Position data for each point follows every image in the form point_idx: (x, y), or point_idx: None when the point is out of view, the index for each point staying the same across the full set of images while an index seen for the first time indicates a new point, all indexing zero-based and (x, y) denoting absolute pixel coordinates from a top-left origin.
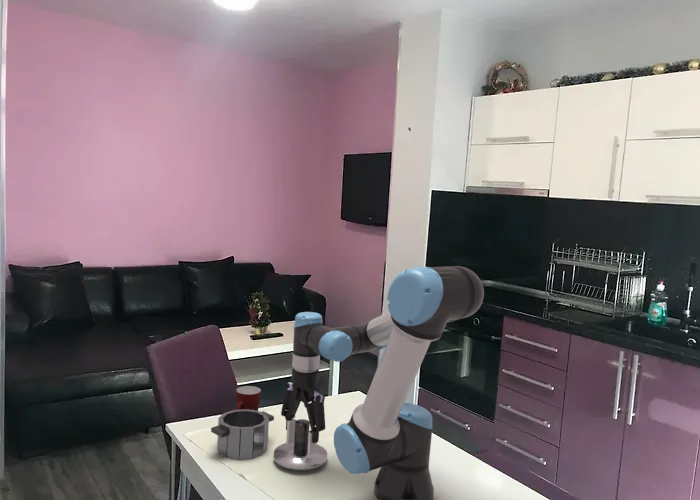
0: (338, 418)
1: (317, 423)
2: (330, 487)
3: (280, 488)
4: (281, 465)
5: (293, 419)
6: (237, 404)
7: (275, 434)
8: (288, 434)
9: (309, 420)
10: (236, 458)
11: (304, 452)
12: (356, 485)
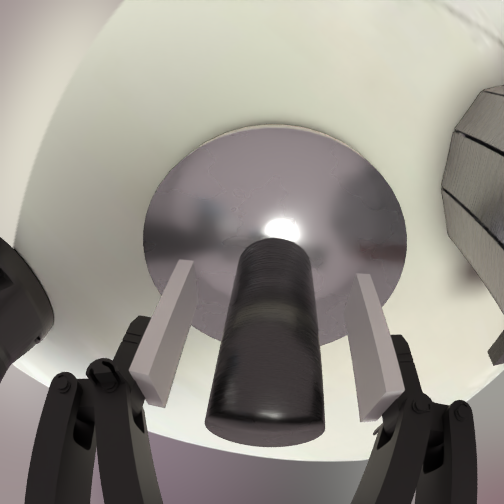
0: (349, 429)
1: (48, 425)
2: (62, 185)
3: (156, 20)
4: (277, 125)
5: (377, 416)
6: None
7: (460, 321)
8: (368, 315)
9: (127, 454)
10: (493, 89)
11: (236, 270)
12: (49, 249)
